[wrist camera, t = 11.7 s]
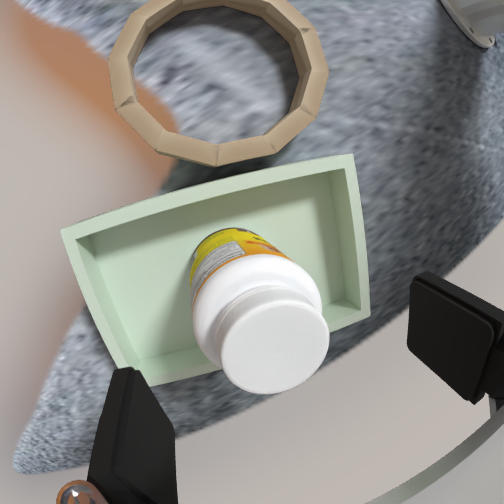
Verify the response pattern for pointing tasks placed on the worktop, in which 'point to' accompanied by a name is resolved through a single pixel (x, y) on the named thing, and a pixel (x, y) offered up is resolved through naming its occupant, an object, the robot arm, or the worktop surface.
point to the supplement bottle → (255, 312)
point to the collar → (204, 153)
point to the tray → (188, 238)
